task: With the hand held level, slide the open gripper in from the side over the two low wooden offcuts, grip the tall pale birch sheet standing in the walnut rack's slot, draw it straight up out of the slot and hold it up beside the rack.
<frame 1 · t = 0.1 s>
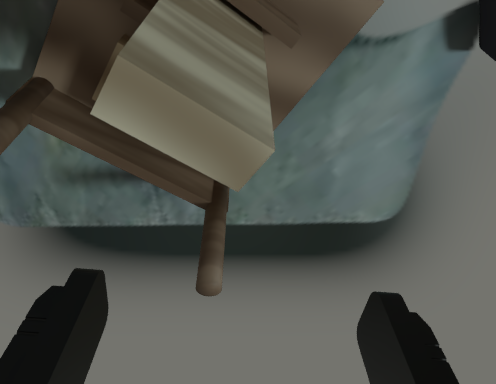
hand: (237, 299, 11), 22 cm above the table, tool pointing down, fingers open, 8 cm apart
rack: (196, 40, 28), on the table
offcut lower: (165, 94, 29), point 1 cm above the table, touching offcut upper, rack
tall sheet: (215, 10, 25), point 1 cm above the table, touching rack
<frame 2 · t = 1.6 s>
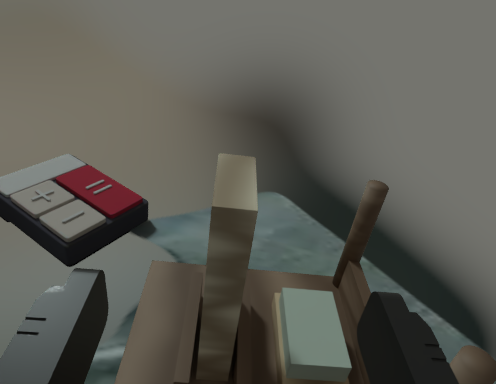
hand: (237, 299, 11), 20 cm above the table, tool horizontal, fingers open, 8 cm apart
rack: (248, 358, 31), on the table
offcut lower: (304, 351, 31), point 1 cm above the table, touching offcut upper, rack
tall sheet: (214, 344, 30), point 1 cm above the table, touching rack
offcut upper: (308, 338, 30), point 3 cm above the table, touching offcut lower
calculator: (71, 216, 44), on the table
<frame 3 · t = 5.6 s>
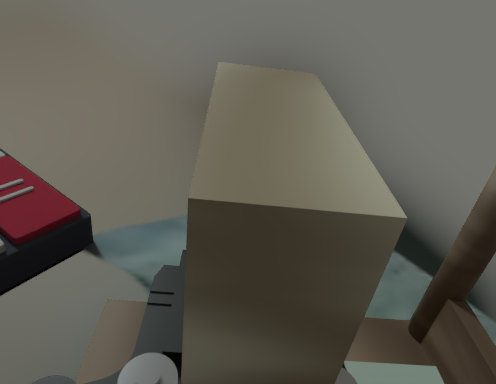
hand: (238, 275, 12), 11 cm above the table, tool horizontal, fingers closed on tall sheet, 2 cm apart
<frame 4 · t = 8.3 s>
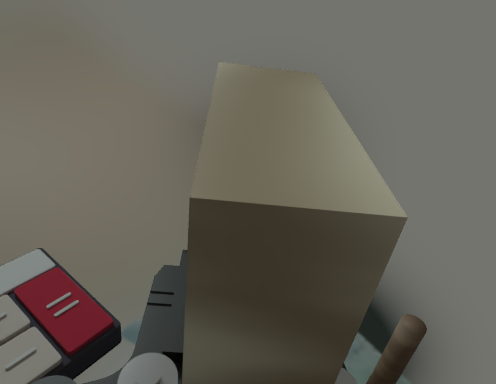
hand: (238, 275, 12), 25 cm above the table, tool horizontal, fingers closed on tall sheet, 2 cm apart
calculator: (32, 334, 37), on the table
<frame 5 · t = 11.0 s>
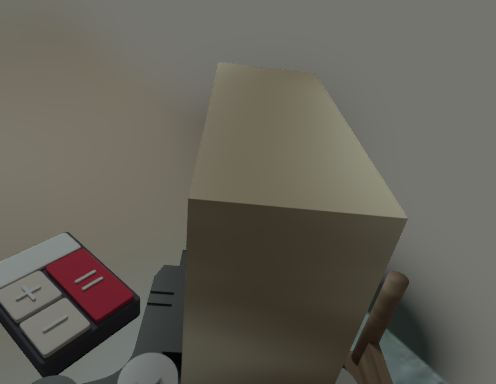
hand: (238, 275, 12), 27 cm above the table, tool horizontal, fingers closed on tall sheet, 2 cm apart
calculator: (61, 307, 42), on the table
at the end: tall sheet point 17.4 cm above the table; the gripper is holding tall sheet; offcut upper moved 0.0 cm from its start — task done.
